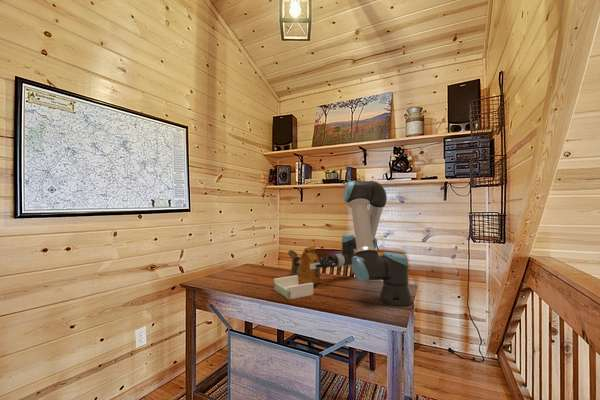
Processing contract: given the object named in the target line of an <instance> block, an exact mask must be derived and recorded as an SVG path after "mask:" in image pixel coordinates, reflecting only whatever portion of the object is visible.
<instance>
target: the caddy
mask: <svg viewBox="0 0 600 400" xmlns="http://www.w3.org/2000/svg"><path fill="white" fill-rule="evenodd" d="M273 290H274V291H275V292H276V293H278V294H279V295H281V296H283V297H284V298H285V299H286V300H287V301H288V300H294V299H298V298H304V297H308V296H314V285H313V283H307V284H301V285H300V284H299V277H298V275H295V276H291V275H288V276H281V277H278V278H277V277H276V278H273Z"/></svg>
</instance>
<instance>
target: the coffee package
mask: <svg viewBox="0 0 600 400" xmlns="http://www.w3.org/2000/svg"><path fill="white" fill-rule="evenodd" d="M315 249H316V246H315V245H313V246H308V247H306V248H304V250H303V251H302V254H301V256H300V258H301V259H300V276H299V285H301V284H307V283H313V286H315V285H317V284H319V283H320V282H321V267H320V268H316V269H310V264H315V263H320V262H319V259H318V258H319V257H318V254H316V251H315Z"/></svg>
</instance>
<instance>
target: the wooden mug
mask: <svg viewBox="0 0 600 400" xmlns="http://www.w3.org/2000/svg"><path fill="white" fill-rule="evenodd" d="M287 253H288V254H287V255H289V257H290V258H291V269H290V273H289V274H290V275H289V276H295V275H298V278H300V259H301V256H299V257H298V253H297V252H296V251H294V250H293V249H290V250H289V251H288V252H287Z"/></svg>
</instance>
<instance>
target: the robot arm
mask: <svg viewBox="0 0 600 400" xmlns="http://www.w3.org/2000/svg"><path fill="white" fill-rule="evenodd" d="M387 200H388V197H387V192H386V190H385V188H384V186H383V185H382V184H380V182H378V181H375V180H370V181H369V180H349V181H347V182H346V183H345V186H344V189H343V201H344V202H345V203H347V206H348V207H349V208H350V209H351V215H352V216H351V217H352V223H353V230H354V234H353V233H343V234H342V235H341V253H335V254H330V255H328V256H327V257H318V259H319V262H320V263H315V264H310V269H316V268H320V269H328V268H337V267H338V268H341V267H342V266H343V267H344V266H351V268H352V269H351V270H352V272H353V274H354V276H355V278H356V279H357V280H359V281H366V282H367V281H382V287H381V290H380V292H379V300H380V302H382V303H383V304H385V305H390V306H395V307H397V306H398V307H405V306H410V305H411V304H412V303H413V297H412V295H411V292H410V288H409V260H408V259H409V258H408V257H407V256H406V255H404V254H402V253H401V254H400V253H397V252H390V251H384V252H383V253H382V255H379V251H378V250H377V249H376V248H378V239H377V237H376V235H377V231H378V228H379V227H378V226H379V224H380V221H381V220H380V219H381V215H382V212H383V208H384V207H386V204H387ZM368 206H369V207H368ZM355 250H356V251H355Z"/></svg>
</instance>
